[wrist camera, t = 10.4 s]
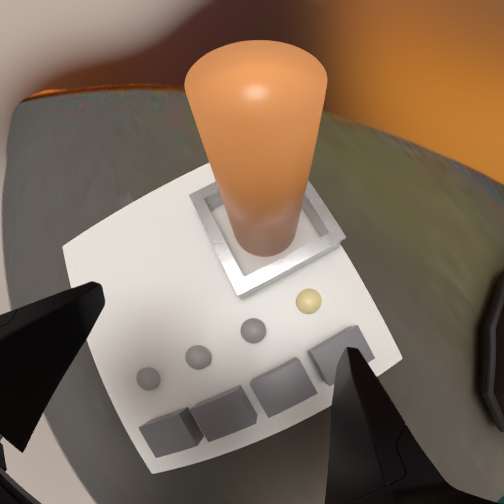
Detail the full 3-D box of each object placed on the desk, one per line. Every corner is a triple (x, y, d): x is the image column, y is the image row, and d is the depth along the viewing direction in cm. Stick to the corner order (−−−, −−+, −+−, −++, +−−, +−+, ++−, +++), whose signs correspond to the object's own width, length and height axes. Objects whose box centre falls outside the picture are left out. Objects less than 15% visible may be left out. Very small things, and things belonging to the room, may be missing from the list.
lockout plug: (302, 250, 19) (348, 112, 7) (238, 262, 19) (186, 134, 7) (288, 194, 20) (303, 36, 8) (229, 204, 20) (184, 52, 8)
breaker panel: (395, 357, 18) (416, 359, 15) (157, 468, 16) (142, 484, 13) (267, 145, 23) (267, 121, 20) (70, 250, 22) (48, 239, 19)
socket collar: (339, 247, 19) (346, 237, 17) (241, 299, 18) (237, 295, 16) (285, 165, 21) (286, 149, 19) (195, 207, 21) (188, 194, 19)
